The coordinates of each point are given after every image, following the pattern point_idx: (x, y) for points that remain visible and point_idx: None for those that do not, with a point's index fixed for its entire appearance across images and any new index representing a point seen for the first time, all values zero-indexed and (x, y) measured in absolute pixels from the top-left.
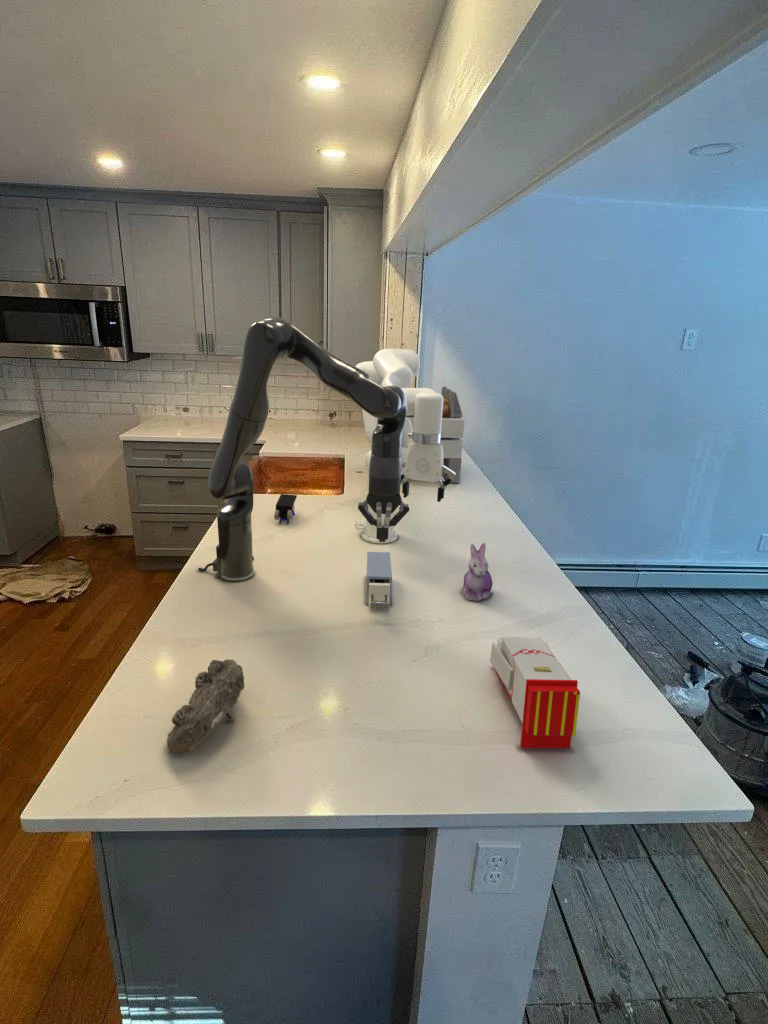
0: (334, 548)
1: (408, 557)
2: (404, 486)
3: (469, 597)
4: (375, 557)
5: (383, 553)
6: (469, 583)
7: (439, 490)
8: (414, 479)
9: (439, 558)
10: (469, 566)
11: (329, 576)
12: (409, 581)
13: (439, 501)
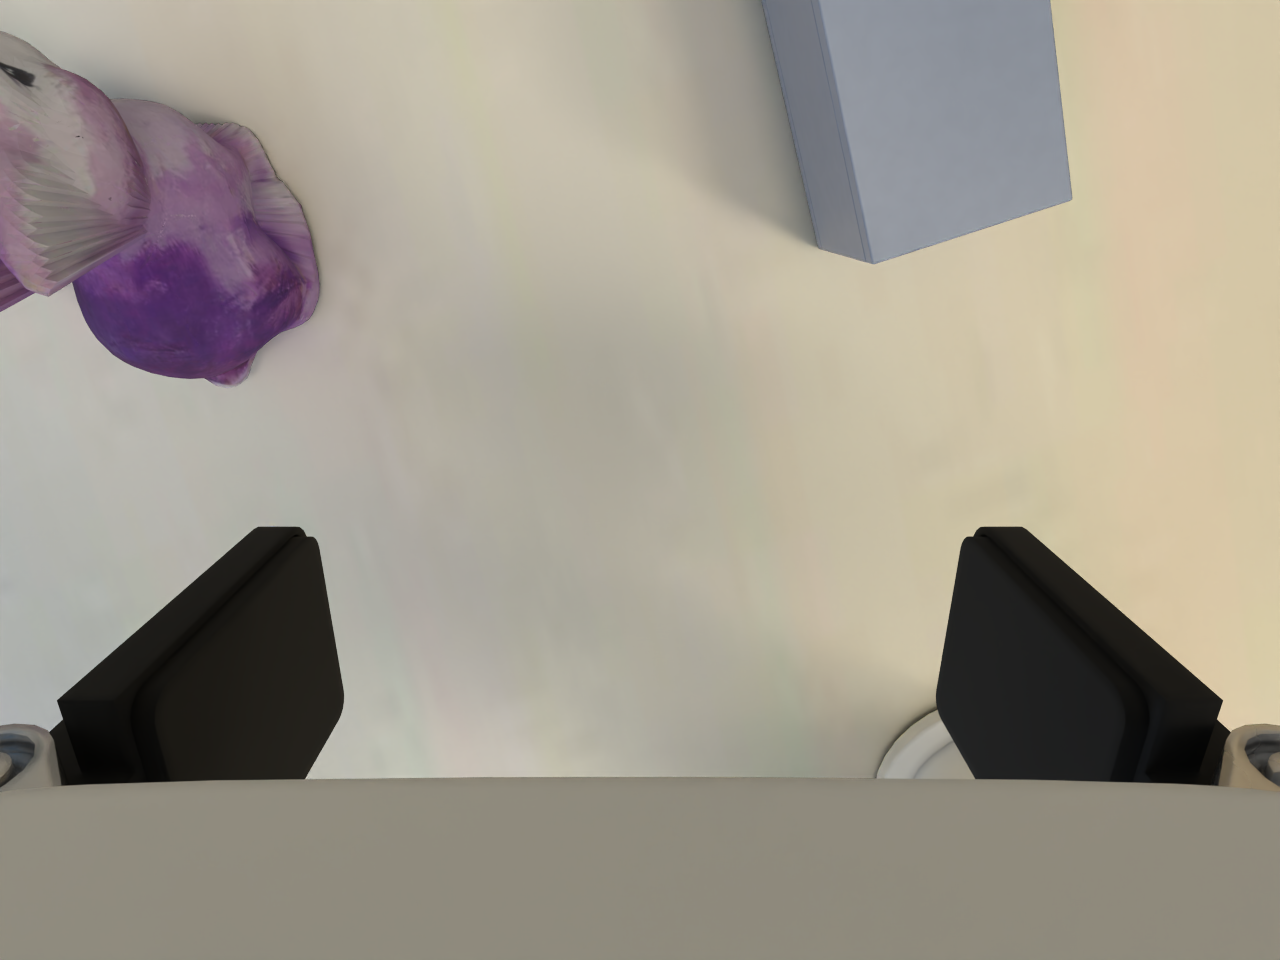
0: (1244, 544)
1: (757, 583)
2: (1164, 653)
3: (227, 126)
4: (983, 94)
5: (925, 216)
6: (174, 111)
7: (122, 660)
8: (996, 786)
9: (574, 633)
10: (92, 99)
11: (1231, 113)
12: (675, 254)
13: (260, 528)
